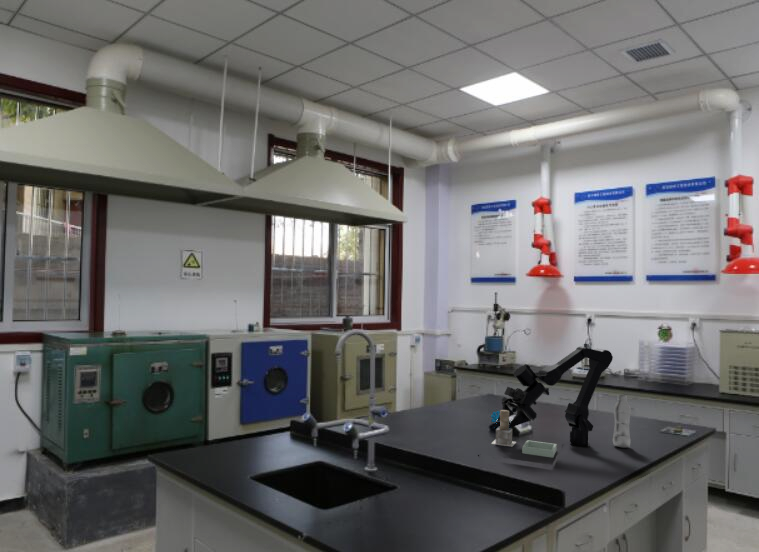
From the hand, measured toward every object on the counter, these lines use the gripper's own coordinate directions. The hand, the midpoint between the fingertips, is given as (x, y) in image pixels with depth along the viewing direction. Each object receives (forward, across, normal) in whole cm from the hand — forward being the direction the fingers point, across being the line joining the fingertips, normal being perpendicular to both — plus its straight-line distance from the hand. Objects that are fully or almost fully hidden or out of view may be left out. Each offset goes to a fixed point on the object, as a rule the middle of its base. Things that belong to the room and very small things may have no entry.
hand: (503, 424), depth 214 cm
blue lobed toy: (-3, -26, +15) cm, 30 cm away
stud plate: (+6, 0, +6) cm, 9 cm away
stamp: (+5, 0, +5) cm, 7 cm away
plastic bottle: (-28, +6, +40) cm, 49 cm away
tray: (+1, +13, +11) cm, 18 cm away
